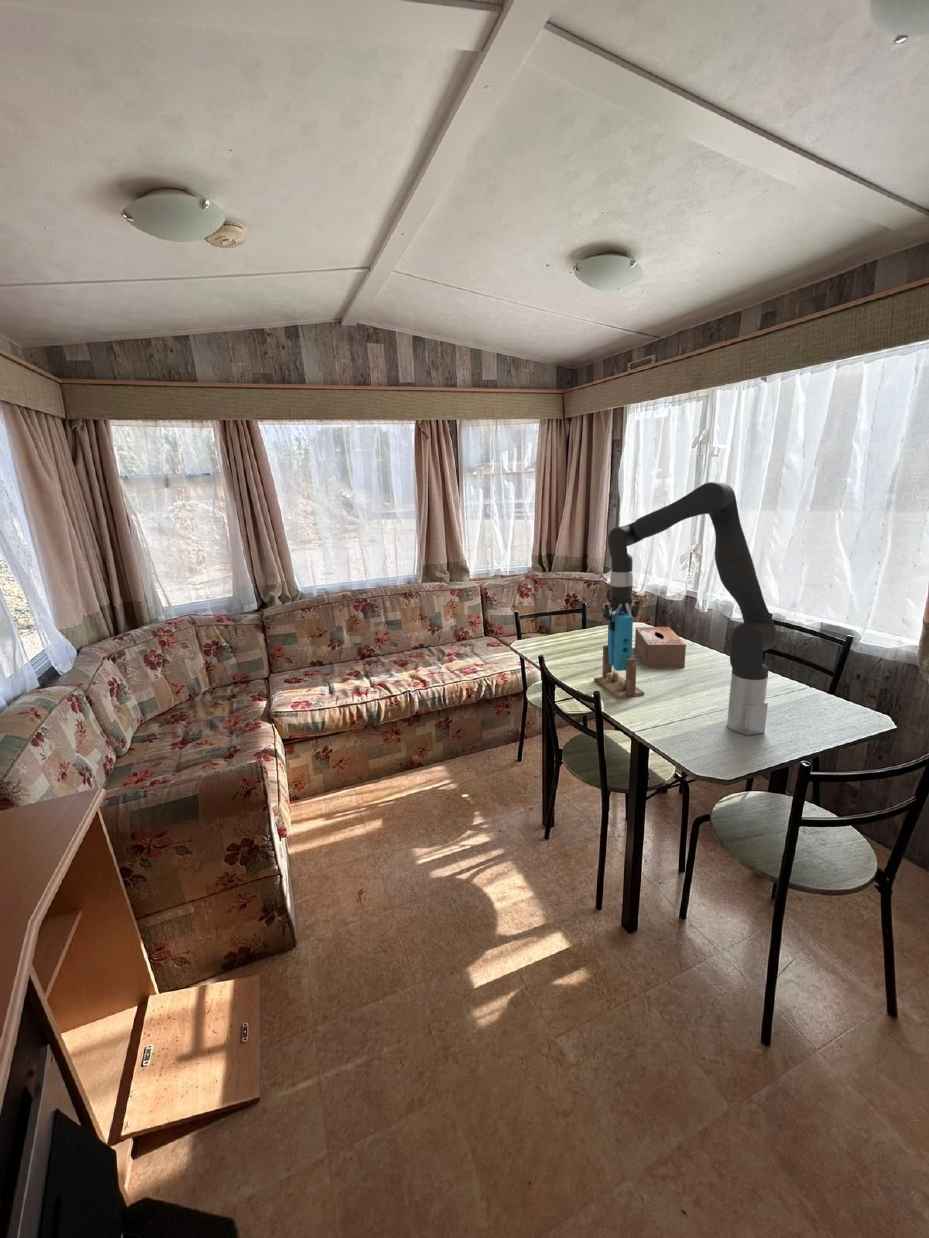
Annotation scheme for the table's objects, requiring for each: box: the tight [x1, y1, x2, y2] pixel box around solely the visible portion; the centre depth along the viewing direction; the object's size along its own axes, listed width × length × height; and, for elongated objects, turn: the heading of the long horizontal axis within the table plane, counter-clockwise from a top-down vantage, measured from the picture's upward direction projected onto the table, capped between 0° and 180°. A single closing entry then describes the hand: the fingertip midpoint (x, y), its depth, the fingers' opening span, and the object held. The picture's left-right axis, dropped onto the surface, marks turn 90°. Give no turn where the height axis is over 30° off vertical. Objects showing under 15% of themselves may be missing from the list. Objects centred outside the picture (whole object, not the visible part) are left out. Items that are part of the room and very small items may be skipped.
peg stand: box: [593, 644, 645, 700], centre depth 181 cm, size 10×18×14 cm, turn 13°
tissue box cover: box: [634, 626, 687, 669], centre depth 211 cm, size 26×14×10 cm, turn 172°
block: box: [607, 609, 634, 672], centre depth 178 cm, size 12×5×20 cm, turn 4°
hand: (620, 629), depth 177 cm, fingers closed on block, 5 cm apart
